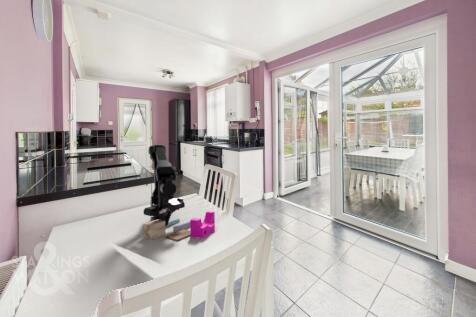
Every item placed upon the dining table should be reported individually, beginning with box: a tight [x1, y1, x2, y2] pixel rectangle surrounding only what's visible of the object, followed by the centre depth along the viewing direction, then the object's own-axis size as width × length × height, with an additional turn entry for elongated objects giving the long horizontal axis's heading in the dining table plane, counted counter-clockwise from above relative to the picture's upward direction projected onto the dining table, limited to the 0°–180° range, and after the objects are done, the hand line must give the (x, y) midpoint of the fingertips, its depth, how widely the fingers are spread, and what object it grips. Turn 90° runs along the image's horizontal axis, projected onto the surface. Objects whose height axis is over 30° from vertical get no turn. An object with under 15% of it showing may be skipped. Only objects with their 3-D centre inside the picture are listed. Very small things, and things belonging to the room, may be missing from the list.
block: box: [143, 219, 166, 240], centre depth 93 cm, size 5×7×6 cm
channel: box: [165, 218, 190, 233], centre depth 103 cm, size 10×10×2 cm
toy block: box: [189, 210, 216, 239], centre depth 97 cm, size 15×6×8 cm, turn 158°
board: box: [164, 228, 191, 242], centre depth 93 cm, size 8×10×1 cm
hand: (165, 226), depth 97 cm, fingers closed
